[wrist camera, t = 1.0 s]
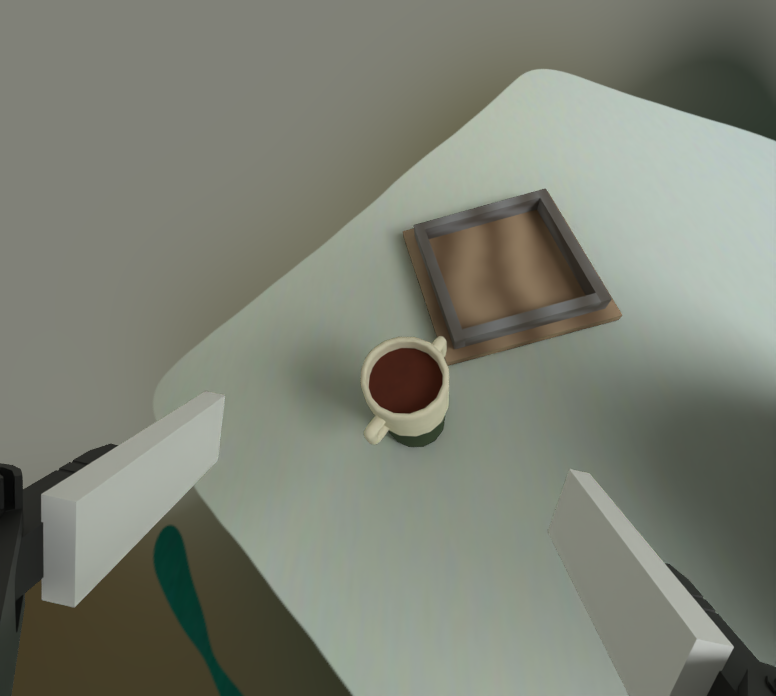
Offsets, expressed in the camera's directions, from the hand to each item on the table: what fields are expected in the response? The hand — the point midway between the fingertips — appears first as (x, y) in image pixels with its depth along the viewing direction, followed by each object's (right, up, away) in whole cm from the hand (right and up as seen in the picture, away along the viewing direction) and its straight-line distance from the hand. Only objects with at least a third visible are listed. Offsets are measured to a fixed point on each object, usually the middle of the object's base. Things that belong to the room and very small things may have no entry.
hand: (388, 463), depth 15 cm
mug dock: (+14, +14, +34) cm, 39 cm away
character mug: (+3, -3, +27) cm, 28 cm away
